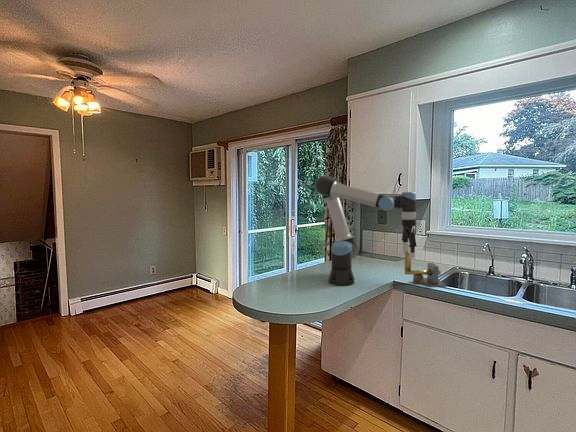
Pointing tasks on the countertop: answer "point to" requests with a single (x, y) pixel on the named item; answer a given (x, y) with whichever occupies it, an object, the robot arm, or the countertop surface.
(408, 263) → the hook rod
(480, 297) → the countertop surface
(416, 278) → the rest block
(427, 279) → the grey upright block
